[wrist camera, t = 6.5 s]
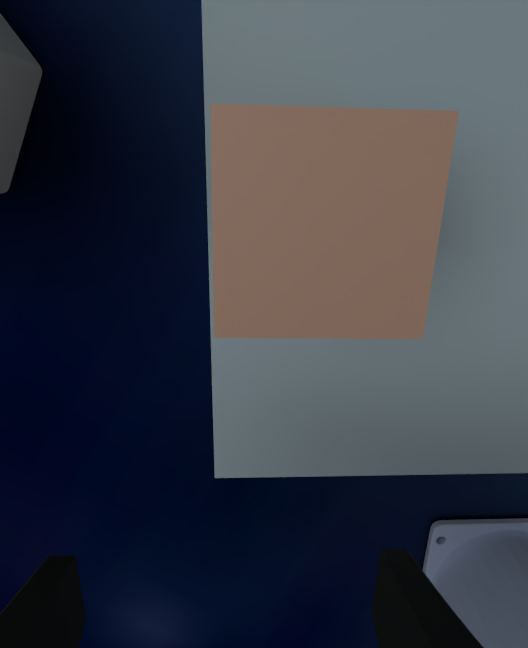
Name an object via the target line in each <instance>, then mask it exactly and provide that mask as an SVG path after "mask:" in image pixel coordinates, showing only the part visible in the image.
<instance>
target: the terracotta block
mask: <svg viewBox="0 0 528 648" xmlns="http://www.w3.org/2000/svg"><path fill="white" fill-rule="evenodd" d="M458 114H459V111H445V110H412V109H379V108H346V107H313V106H279V105H246V104H213V103H211V161H212V227H213V293H214V338H348V339H423V335H424V328H425V322H426V316H427V309H428V303H429V297H430V291H431V284H432V278H433V272H434V265H435V259H436V253H437V246H438V240H439V234H440V227H441V221H442V215H443V208H444V202H445V196H446V189H447V183H448V177H449V171H450V164H451V158H452V152H453V145H454V139H455V133H456V126H457V120H458Z"/></svg>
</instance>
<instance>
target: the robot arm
mask: <svg viewBox="0 0 528 648" xmlns="http://www.w3.org/2000/svg"><path fill="white" fill-rule="evenodd" d="M439 537H440V538H439ZM372 613H373V618H374V623H375V628H376V634H377V638H378V643H379V648H528V518H519V519H471V520H439V521H436V522H434V523H433V524H432V525H431V528H430V532H429V538H428V543H427V549H426V554H425V560H424V565H423V570H422V569H421V568H420V566H419V565H418V564H417V562H416V561H415V559H414V558H413V557H412V555H411V554H410V553H409V552H408V551H407V550H406V549H381V550H380V557H379V564H378V571H377V578H376V585H375V592H374V600H373V607H372ZM85 619H86V616H85V610H84V604H83V598H82V592H81V586H80V580H79V574H78V568H77V562H76V556H48V557H47V558H46V559H45V560H44V561H43V563H42V564H41V565H40V566H39V567H38V569H37V570H36V571H35V572H34V573H33V575H32V576H31V577H30V578H29V579H28V581H27V582H26V583H25V584H24V586H23V587H22V588H21V589H20V590H19V592H18V593H17V594H16V595H15V596H14V597H13V599H12V600H11V601H10V602H9V603H8V605H7V606H6V607H5V608H4V609H3V610H2V612H1V613H0V648H79V645H80V640H81V636H82V632H83V628H84V624H85Z"/></svg>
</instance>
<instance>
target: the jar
mask: <svg viewBox="0 0 528 648" xmlns="http://www.w3.org/2000/svg"><path fill="white" fill-rule="evenodd" d="M41 77H42V69H41V67H40V65H39V63H38V62H37V61H36V59H35V58H34V57H33V55H32V54H31V53H30V52H29V50H28V49H27V48H26V46H25V45H24V44H23V42H22V41H21V40H20V38H19V37H18V36H17V34H16V33H15V32H14V30H13V29H12V28H11V27H10V25H9V24H8V23H7V21H6V20H5V19H4V17H3V16H2V15H1V13H0V194H2V193H5V192H7V191H8V190H9V187H10V184H11V180H12V177H13V173H14V170H15V167H16V163H17V160H18V156H19V153H20V149H21V146H22V142H23V139H24V135H25V132H26V129H27V125H28V122H29V118H30V115H31V111H32V108H33V104H34V101H35V97H36V94H37V90H38V87H39V84H40V80H41Z"/></svg>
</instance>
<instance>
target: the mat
mask: <svg viewBox="0 0 528 648" xmlns="http://www.w3.org/2000/svg"><path fill="white" fill-rule="evenodd" d="M202 35H203V71H204V107H205V143H206V179H207V216H208V252H209V288H210V324H211V360H212V396H213V432H214V468H215V478H249V477H310V476H372V475H433V474H494V473H528V0H202ZM211 103H213V104H246V105H279V106H313V107H346V108H379V109H412V110H445V111H459V114H458V120H457V126H456V133H455V139H454V145H453V152H452V158H451V164H450V171H449V177H448V183H447V189H446V196H445V202H444V208H443V215H442V221H441V227H440V234H439V240H438V246H437V253H436V259H435V265H434V272H433V278H432V284H431V291H430V297H429V303H428V309H427V316H426V322H425V328H424V335H423V339H348V338H214V293H213V227H212V161H211Z"/></svg>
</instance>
